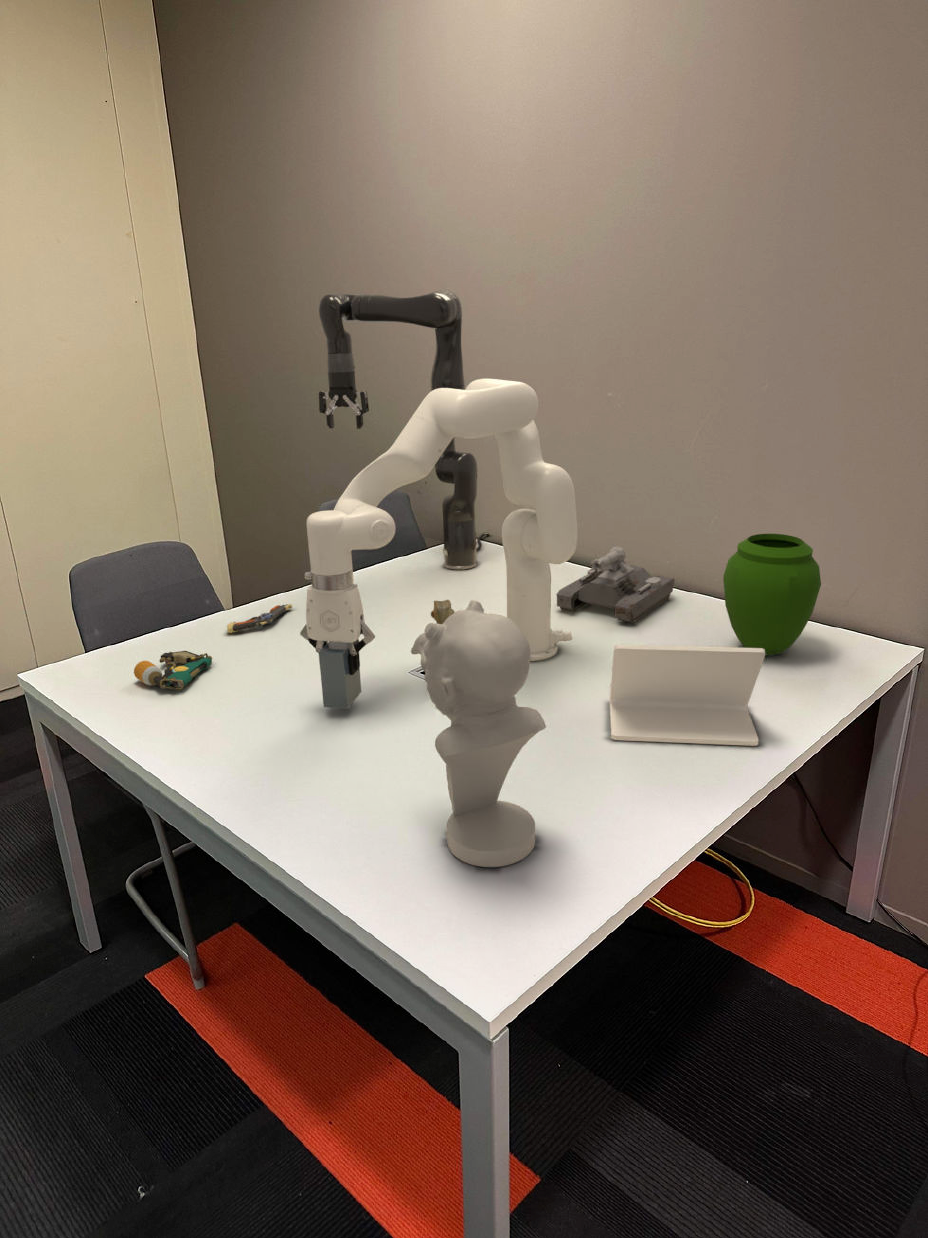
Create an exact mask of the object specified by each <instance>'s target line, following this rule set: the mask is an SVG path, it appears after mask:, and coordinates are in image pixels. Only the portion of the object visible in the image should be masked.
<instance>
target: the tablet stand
mask: <svg viewBox="0 0 928 1238" xmlns="http://www.w3.org/2000/svg"><path fill="white" fill-rule="evenodd" d="M765 656H766V655H765V650H764V649H763V648H744V647H730V646H692V645H690V646H689V645H688V646H687V645H658V644H655V645H654V644H620V643H619V644H615V645H614V646H613V657H612V667H611V668H612V669H611V680H610V681H611V682H610V684H609V716H610V717H609V719H610V739H612V740H614V741H632V742H633V741H634V742H653V743H654V742H655V743H677V744H678V743H679V744H704V745H724V746H725V745H727V746H729V745H730V746H731V745H732V746H748V747H749V746H752V747H756V746H758V745H759V741H760V740H759V737H758V734H757V731H756V729H755V725H754V723H753V721H752V718H751V716H750V713H749V702H750V700H751V697H752V694H753V691H754V689H755V687H756V686H755V685H756V683H757V680H758V677H759V674H760V671H761V668H762V666H763V663H764V660H765Z"/></svg>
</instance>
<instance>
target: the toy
mask: <svg viewBox="0 0 928 1238" xmlns="http://www.w3.org/2000/svg"><path fill="white" fill-rule="evenodd" d="M626 557H627V556H626V551H625V549H624V548H622V547H621V546H614V547H612V548H611V549H610V550H609V552H608V553H607V554H605V555H604V556H601V557H599V558H598V559H597V557H596V558H594V559H593V560H592V561H590V562H589V563H590V564H591V565H592V567H591V568H590V569H589V570H587V573H586V575H584V576H582V577H580V578H578V579H577V580H575V581H573V582H570V583H569V584H567V585H566V586H563V587H562V588H560V589H559V590H558V591H557V592H556V607H558V608H559V609H560V610H562V611H566V612H572V613H575V612H577V611H579V610H581V609H582V608H585V607H586V606H588V605H592V606H598V607H602V608H603V607H604V608H609V609H613V610H614V618H615V619H617V620H618V621H621V622H626V623H631V624H634V623H635V622H637V621H638V620H640V619H641V618H642V617H644V616H645V615H647V614H648V613H650V612H651V611H652V610H654V609H655V608H657V607H659V606H660V605H661V604H663V603H664V602H666V601H667V600H669V598H670V596H671V594H672V593H673V591H674V585H675V580H676V579H675V578H673V577H668V576H663V575H656V576H655V577H654V576H651V574H650V573H649V572H648V571H647V570H646V568H644V567H641V566H635V565H629V564H628V563H627V562H626V561H625V559H626Z"/></svg>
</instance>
